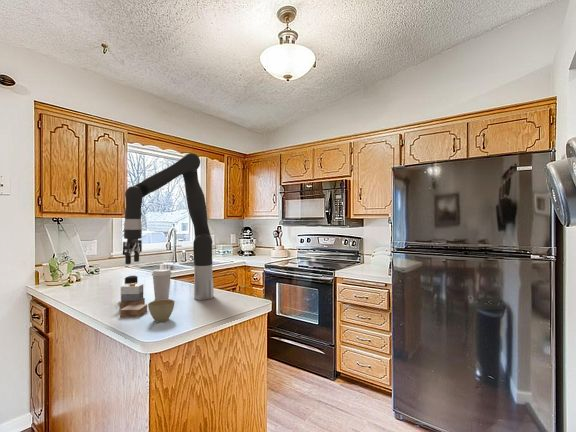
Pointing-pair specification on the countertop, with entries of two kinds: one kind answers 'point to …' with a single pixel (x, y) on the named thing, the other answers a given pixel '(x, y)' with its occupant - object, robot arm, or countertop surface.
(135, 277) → the medicine bottle
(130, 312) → the stand
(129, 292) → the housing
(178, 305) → the countertop surface
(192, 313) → the countertop surface
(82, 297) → the countertop surface
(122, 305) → the stand
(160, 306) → the beige round bowl
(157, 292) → the coffee cup
